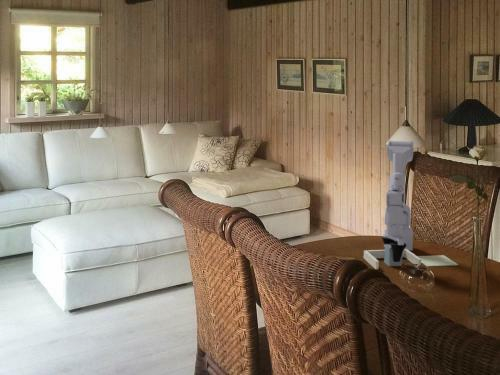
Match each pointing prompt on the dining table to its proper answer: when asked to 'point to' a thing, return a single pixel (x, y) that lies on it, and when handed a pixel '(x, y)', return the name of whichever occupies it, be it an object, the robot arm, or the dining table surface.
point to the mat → (436, 261)
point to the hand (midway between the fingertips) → (393, 258)
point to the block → (390, 257)
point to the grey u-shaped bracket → (373, 254)
